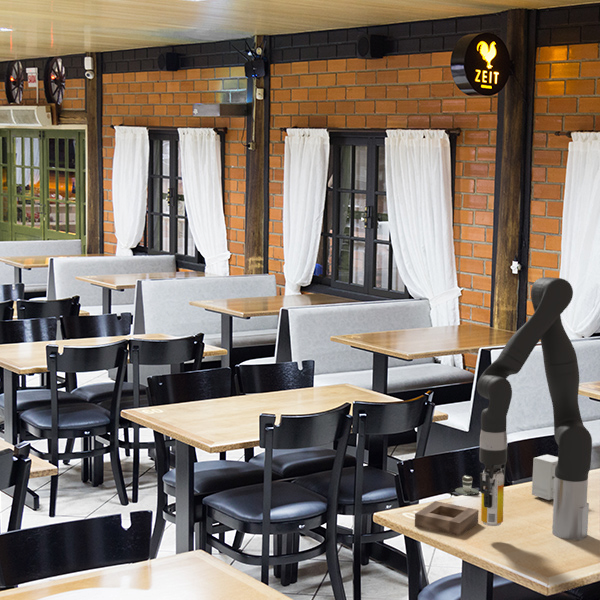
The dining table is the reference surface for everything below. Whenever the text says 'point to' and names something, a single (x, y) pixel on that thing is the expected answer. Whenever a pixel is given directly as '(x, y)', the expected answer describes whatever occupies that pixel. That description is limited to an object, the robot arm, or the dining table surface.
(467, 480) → the pot lid
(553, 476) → the supplement box
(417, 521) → the box holder
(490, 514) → the beer can
